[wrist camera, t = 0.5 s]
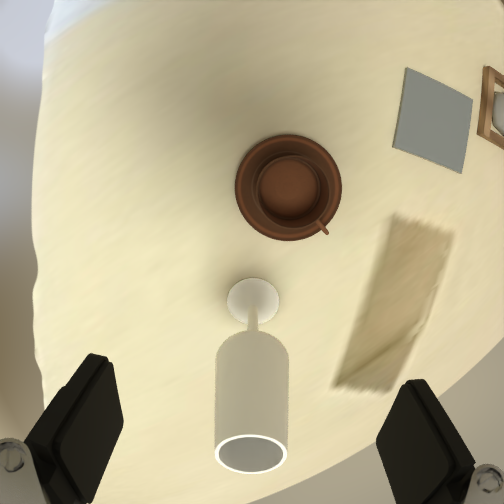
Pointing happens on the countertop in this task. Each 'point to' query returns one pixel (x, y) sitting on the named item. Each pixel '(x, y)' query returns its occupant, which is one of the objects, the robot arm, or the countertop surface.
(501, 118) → the flask
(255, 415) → the champagne flute
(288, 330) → the countertop surface
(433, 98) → the slate tile
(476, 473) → the robot arm
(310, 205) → the cup and saucer
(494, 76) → the square wooden frame
